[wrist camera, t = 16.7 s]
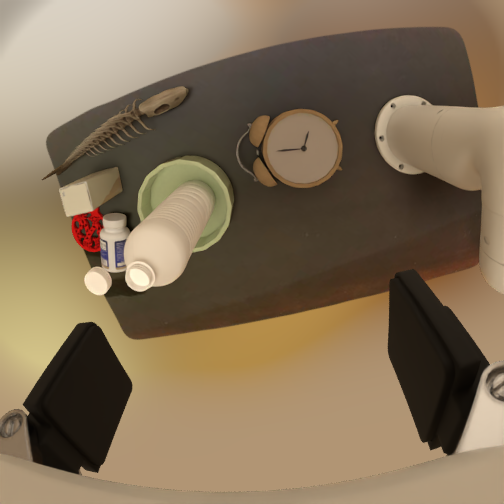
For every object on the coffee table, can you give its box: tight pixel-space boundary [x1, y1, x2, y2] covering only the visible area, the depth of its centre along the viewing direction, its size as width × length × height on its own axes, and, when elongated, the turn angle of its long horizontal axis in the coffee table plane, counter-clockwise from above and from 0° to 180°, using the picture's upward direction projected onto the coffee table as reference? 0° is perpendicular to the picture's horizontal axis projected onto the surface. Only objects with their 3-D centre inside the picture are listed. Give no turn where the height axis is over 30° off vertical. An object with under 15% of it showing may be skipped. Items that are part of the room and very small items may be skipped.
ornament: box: [72, 207, 104, 252], centre depth 51 cm, size 8×1×10 cm
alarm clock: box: [236, 109, 343, 188], centre depth 44 cm, size 11×5×15 cm
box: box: [59, 167, 123, 217], centre depth 43 cm, size 5×4×11 cm
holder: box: [137, 155, 234, 252], centre depth 47 cm, size 14×14×5 cm
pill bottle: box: [100, 213, 130, 272], centre depth 50 cm, size 5×5×9 cm
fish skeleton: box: [42, 86, 188, 180], centre depth 40 cm, size 6×28×10 cm, turn 114°
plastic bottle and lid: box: [85, 180, 216, 295], centre depth 37 cm, size 9×6×25 cm
